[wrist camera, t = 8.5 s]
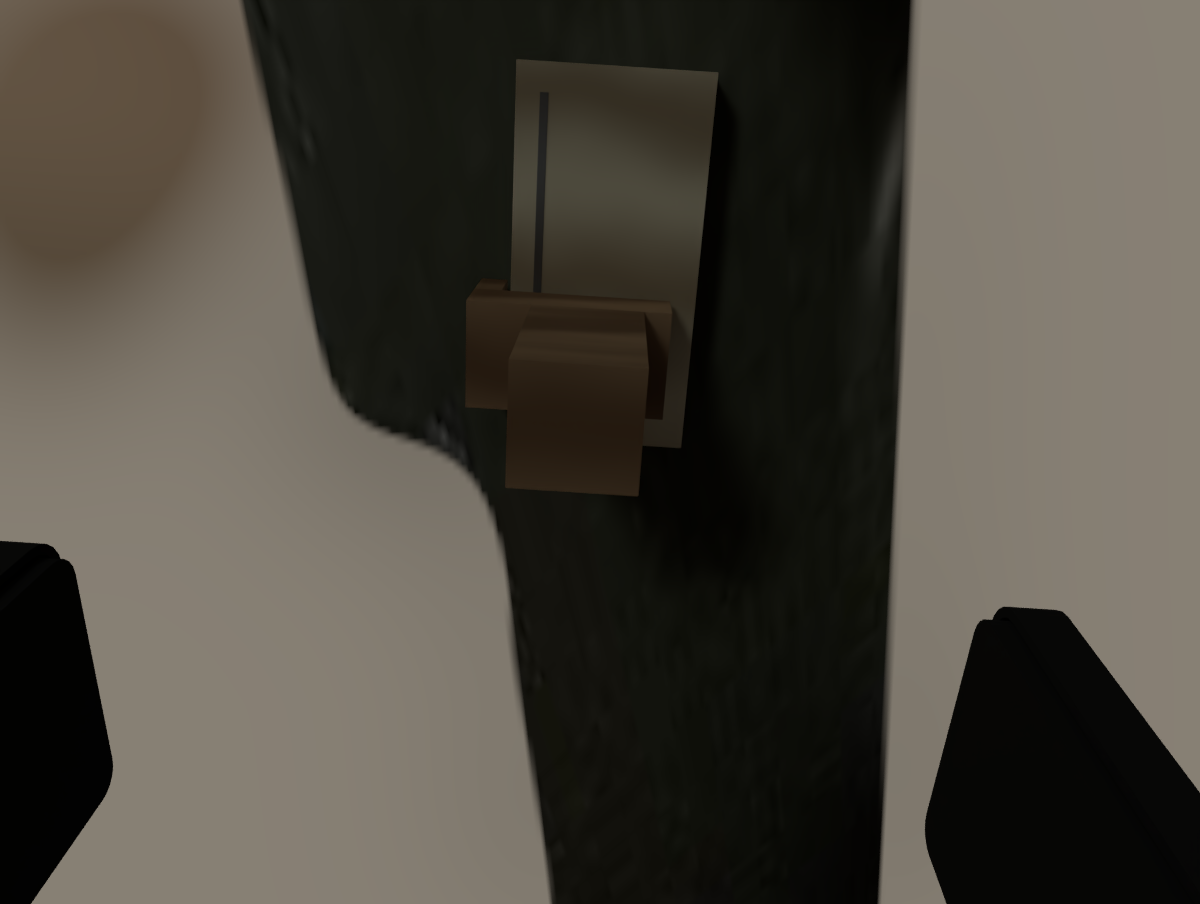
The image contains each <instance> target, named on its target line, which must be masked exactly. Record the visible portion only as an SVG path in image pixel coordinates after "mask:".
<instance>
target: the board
mask: <svg viewBox="0 0 1200 904" xmlns="http://www.w3.org/2000/svg"><path fill="white" fill-rule="evenodd" d="M717 82H718V72H702V71H687V70H672V69H656V68H641V67H626V66H611V65H595V64H580V63H565V62H550V61H534V60H519V59H517V63H516V102H515V141H514V180H513V219H512V258H511V291H521V292H536V293H552V294H567V295H582V296H598V297H613V298H628V299H643V300H659V301H670V305H671V310H672V322H671V333H670V344H669V355H668V366H667V377H666V388H665V399H664V410H663V420H657V419H645V422H644V434H643V446H655V447H671V448H681V443H682V433H683V423H684V413H685V403H686V393H687V383H688V373H689V363H690V353H691V343H692V333H693V323H694V313H695V303H696V293H697V283H698V273H699V262H700V252H701V242H702V232H703V222H704V212H705V202H706V192H707V182H708V172H709V162H710V152H711V142H712V132H713V122H714V112H715V102H716V92H717Z"/></svg>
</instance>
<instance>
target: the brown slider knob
mask: <svg viewBox="0 0 1200 904" xmlns="http://www.w3.org/2000/svg"><path fill="white" fill-rule="evenodd" d="M671 322H672V310H671V305H670V301H659V300H643V299H628V298H613V297H598V296H582V295H567V294H552V293H536V292H521V291H507V280H498V279H483V278H482V279H481V280H480V282H479V283H478V285H477V286H476V287H475V289H474V290H473V292H472V293H471V294H470V296H469V297H468V299H467V300H466V407H473V408H489V409H504V410H507V444H506V483H505V488H517V489H533V490H548V491H563V492H579V493H594V494H609V495H624V496H638V494H639V482H640V470H641V458H642V446H643V434H644V422H645V419H657V420H663V410H664V399H665V388H666V377H667V366H668V355H669V344H670V333H671Z"/></svg>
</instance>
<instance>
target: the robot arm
mask: <svg viewBox="0 0 1200 904" xmlns="http://www.w3.org/2000/svg"><path fill="white" fill-rule="evenodd" d="M112 772H113V761H112V755H111V750H110V745H109V740H108V735H107V729H106V724H105V720H104V715H103V709H102V704H101V699H100V695H99V689H98V684H97V679H96V674H95V669H94V664H93V659H92V655H91V649H90V645H89V639H88V634H87V629H86V624H85V619H84V614H83V609H82V604H81V599H80V594H79V589H78V584H77V579H76V574H75V571H74V568H73V566H72V565H71V563H70V562H69V561H67V560H65V559H60V557H59V554H58V553H57V552H56V550H55V549H54V548H53V547H52V546H49V545H48V544H38V543H23V542H8V541H0V904H31V903H32V901H33V900H34V899H35V897H36V896H37V894H38V893H39V891H40V890H41V888H42V887H43V885H44V884H45V883H46V881H47V880H48V878H49V877H50V875H51V874H52V872H53V871H54V870H55V868H56V867H57V865H58V864H59V862H60V861H61V860H62V858H63V857H64V855H65V854H66V852H67V851H68V849H69V848H70V847H71V845H72V844H73V842H74V841H75V839H76V838H77V836H78V835H79V834H80V832H81V831H82V829H83V828H84V826H85V825H86V823H87V822H88V821H89V819H90V818H91V816H92V815H93V813H94V812H95V810H96V809H97V808H98V806H99V805H100V803H101V802H102V800H103V798H104V797H105V795H106V793H107V791H108V788H109V786H110V782H111V778H112ZM925 837H926V844H927V850H928V853H929V856H930V859H931V862H932V865H933V867H934V870H935V873H936V876H937V878H938V881H939V884H940V887H941V889H942V892H943V895H944V898H945V900H946V903H947V904H1200V793H1199V791H1198V790H1197V788H1196V787H1195V786H1194V784H1193V783H1192V782H1191V780H1190V779H1189V778H1188V777H1187V775H1186V774H1185V772H1184V771H1183V770H1182V768H1181V767H1180V766H1179V764H1178V763H1177V762H1176V761H1175V759H1174V758H1173V756H1172V755H1171V754H1170V752H1169V751H1168V750H1167V748H1166V747H1165V746H1164V745H1163V743H1162V742H1161V740H1160V739H1159V738H1158V736H1157V735H1156V734H1155V732H1154V731H1153V730H1152V728H1151V727H1150V726H1149V725H1148V723H1147V722H1146V720H1145V719H1144V718H1143V716H1142V715H1141V714H1140V712H1139V711H1138V710H1137V708H1136V707H1135V706H1134V704H1133V703H1132V702H1131V700H1130V699H1129V698H1128V696H1127V695H1126V694H1125V692H1124V691H1123V690H1122V688H1121V687H1120V686H1119V684H1118V683H1117V682H1116V681H1115V679H1114V678H1113V676H1112V675H1111V674H1110V672H1109V671H1108V670H1107V668H1106V667H1105V666H1104V664H1103V663H1102V662H1101V660H1100V659H1099V658H1098V656H1097V655H1096V654H1095V652H1094V651H1093V650H1092V648H1091V647H1090V646H1089V644H1088V643H1087V641H1086V640H1085V639H1084V637H1083V636H1082V635H1081V633H1080V632H1079V631H1078V629H1077V628H1076V627H1075V626H1074V624H1073V623H1072V621H1071V620H1070V619H1069V618H1068V616H1066V615H1065V614H1064V613H1063V612H1062V611H1057V610H1048V609H1033V608H1017V607H1002V608H1000V609H999V610H998V611H997V612H996V614H995V615H994V617H993V620H982V621H980V622H979V623H978V625H977V627H976V629H975V632H974V635H973V639H972V643H971V647H970V650H969V654H968V658H967V662H966V666H965V669H964V673H963V677H962V681H961V685H960V689H959V693H958V696H957V700H956V704H955V707H954V711H953V715H952V719H951V723H950V726H949V730H948V734H947V738H946V742H945V745H944V749H943V753H942V757H941V761H940V765H939V768H938V772H937V776H936V780H935V784H934V787H933V791H932V795H931V799H930V803H929V806H928V810H927V815H926V820H925Z"/></svg>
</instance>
